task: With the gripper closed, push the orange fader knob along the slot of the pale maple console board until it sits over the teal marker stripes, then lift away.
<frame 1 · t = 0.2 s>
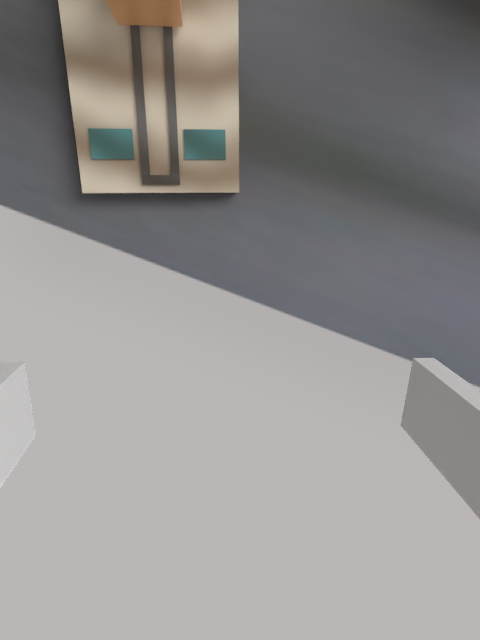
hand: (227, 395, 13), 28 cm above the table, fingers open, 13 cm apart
console: (156, 72, 34), on the table
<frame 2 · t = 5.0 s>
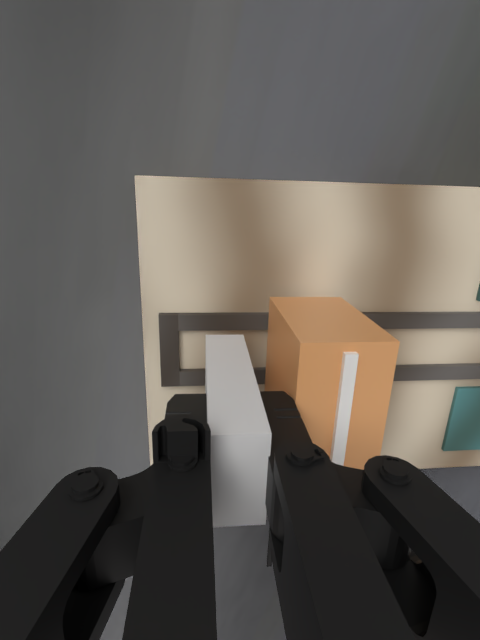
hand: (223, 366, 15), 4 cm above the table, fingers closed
console: (351, 331, 20), on the table
fader knob: (318, 380, 14), point 5 cm above the table, slide at 0.7 cm, touching gripper
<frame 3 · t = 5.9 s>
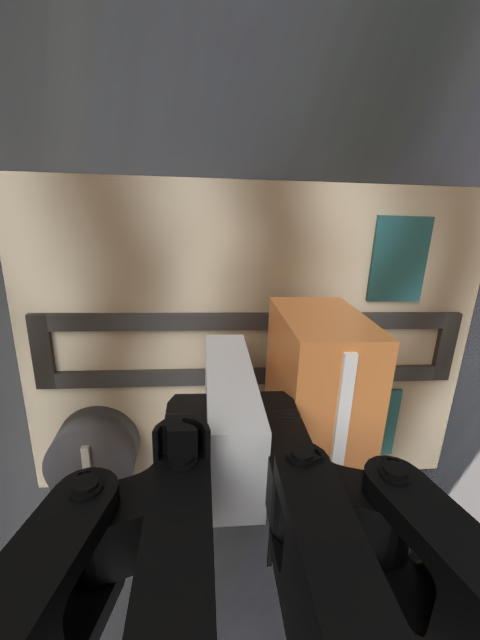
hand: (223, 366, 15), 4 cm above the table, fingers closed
console: (248, 332, 19), on the table
fader knob: (318, 380, 14), point 5 cm above the table, slide at 6.0 cm, touching gripper
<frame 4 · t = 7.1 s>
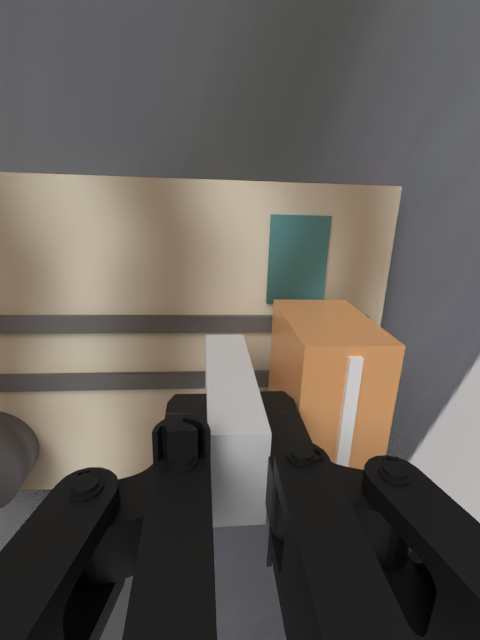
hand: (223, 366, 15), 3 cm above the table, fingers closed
console: (157, 334, 18), on the table
fader knob: (322, 384, 14), point 5 cm above the table, slide at 10.5 cm, touching gripper
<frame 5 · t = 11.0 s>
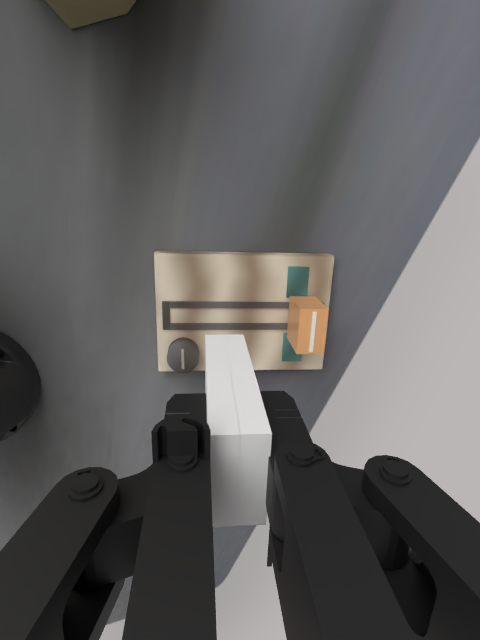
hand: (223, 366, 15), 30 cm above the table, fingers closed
console: (242, 310, 47), on the table
fader knob: (306, 324, 42), point 5 cm above the table, slide at 10.6 cm
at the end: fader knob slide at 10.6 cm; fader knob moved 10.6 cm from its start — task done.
